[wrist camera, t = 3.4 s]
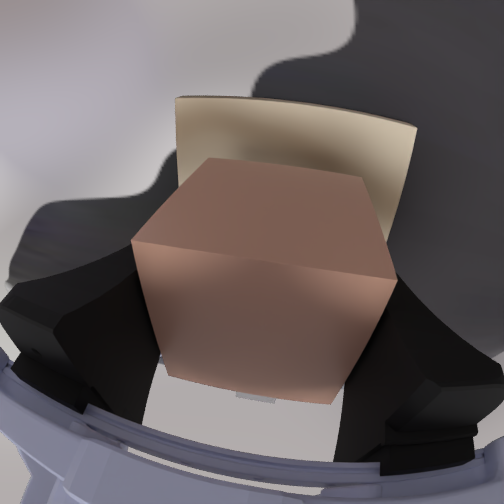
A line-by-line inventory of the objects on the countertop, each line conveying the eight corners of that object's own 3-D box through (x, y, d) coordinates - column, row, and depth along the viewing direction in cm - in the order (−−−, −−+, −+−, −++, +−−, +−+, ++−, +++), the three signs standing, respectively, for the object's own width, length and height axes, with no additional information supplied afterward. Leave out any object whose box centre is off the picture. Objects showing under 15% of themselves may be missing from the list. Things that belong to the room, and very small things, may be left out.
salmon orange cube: (331, 292, 13) (330, 404, 9) (211, 274, 14) (168, 375, 9) (361, 177, 10) (397, 280, 5) (208, 157, 11) (131, 240, 6)
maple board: (333, 360, 24) (332, 369, 24) (200, 338, 26) (196, 347, 25) (411, 123, 12) (417, 127, 12) (182, 95, 14) (175, 98, 13)
